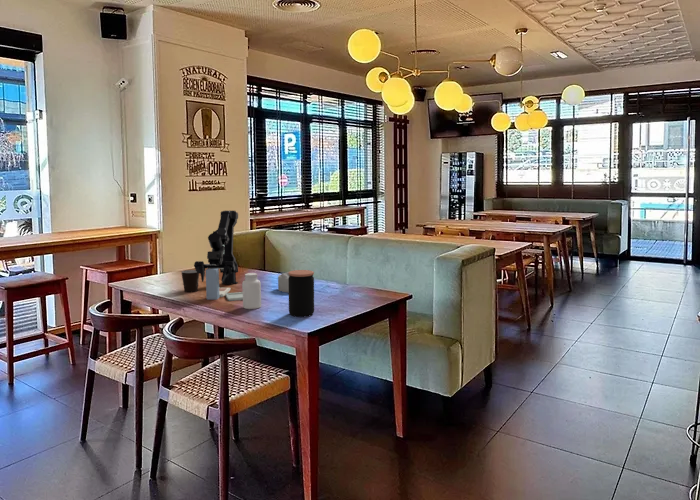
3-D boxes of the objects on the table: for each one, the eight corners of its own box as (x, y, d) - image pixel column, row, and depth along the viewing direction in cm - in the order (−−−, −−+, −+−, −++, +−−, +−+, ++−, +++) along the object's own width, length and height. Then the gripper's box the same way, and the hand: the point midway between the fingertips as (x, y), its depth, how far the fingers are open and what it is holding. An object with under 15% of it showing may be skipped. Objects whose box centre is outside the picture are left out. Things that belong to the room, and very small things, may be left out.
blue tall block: (209, 297, 266) (208, 268, 264) (219, 297, 266) (218, 268, 264) (206, 299, 261) (205, 270, 259) (217, 299, 261) (216, 270, 259)
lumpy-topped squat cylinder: (291, 293, 274) (291, 276, 273) (273, 290, 282) (272, 273, 281) (306, 290, 283) (305, 273, 281) (287, 286, 290) (287, 270, 289)
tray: (225, 295, 269) (225, 293, 269) (249, 294, 273) (249, 291, 273) (228, 300, 258) (228, 298, 258) (253, 299, 262) (253, 296, 262)
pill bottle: (243, 305, 250) (243, 272, 248) (261, 305, 251) (261, 272, 249) (241, 309, 242) (241, 275, 240) (260, 309, 243) (259, 275, 241)
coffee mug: (195, 293, 274) (194, 273, 273) (178, 292, 276) (178, 272, 275) (205, 288, 286) (204, 269, 284) (190, 287, 287) (189, 268, 286)
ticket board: (214, 289, 283) (214, 287, 283) (230, 289, 283) (230, 287, 282) (206, 296, 266) (206, 294, 266) (223, 296, 266) (222, 294, 266)
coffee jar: (299, 309, 242) (299, 269, 240) (319, 313, 236) (319, 271, 234) (283, 314, 234) (283, 272, 231) (303, 318, 228) (302, 275, 225)
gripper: (194, 244, 265) (188, 271, 255) (233, 244, 265) (228, 271, 255) (199, 258, 273) (193, 284, 264) (237, 258, 273) (233, 285, 264)
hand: (212, 281), depth 262 cm, fingers open, 9 cm apart
